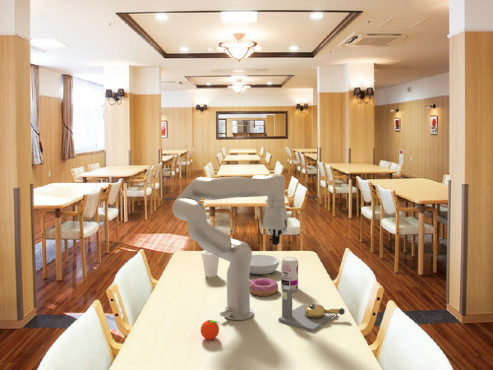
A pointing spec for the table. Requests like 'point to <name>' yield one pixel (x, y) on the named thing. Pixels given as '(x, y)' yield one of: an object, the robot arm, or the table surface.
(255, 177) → the robot arm
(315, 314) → the gold pan with handle
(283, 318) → the stand
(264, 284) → the donut
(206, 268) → the foam cup
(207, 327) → the clementine
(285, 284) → the white soda can
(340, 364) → the table surface
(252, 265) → the serving bowl
